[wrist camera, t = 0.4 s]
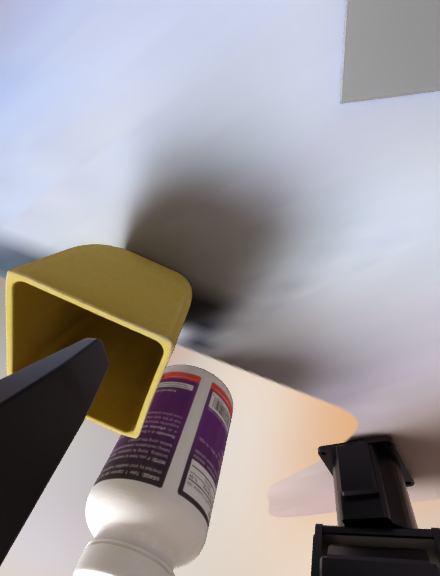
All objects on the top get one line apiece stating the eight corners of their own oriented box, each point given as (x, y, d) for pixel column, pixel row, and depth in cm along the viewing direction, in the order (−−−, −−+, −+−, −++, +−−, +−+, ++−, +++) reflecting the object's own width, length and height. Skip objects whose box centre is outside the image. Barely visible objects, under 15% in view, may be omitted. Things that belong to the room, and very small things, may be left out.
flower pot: (104, 212, 22) (1, 268, 14) (218, 263, 22) (175, 345, 14) (89, 305, 27) (5, 384, 19) (183, 346, 27) (136, 442, 19)
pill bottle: (142, 396, 31) (41, 581, 19) (169, 344, 27) (60, 540, 15) (214, 432, 31) (160, 636, 19) (251, 386, 27) (212, 612, 15)
